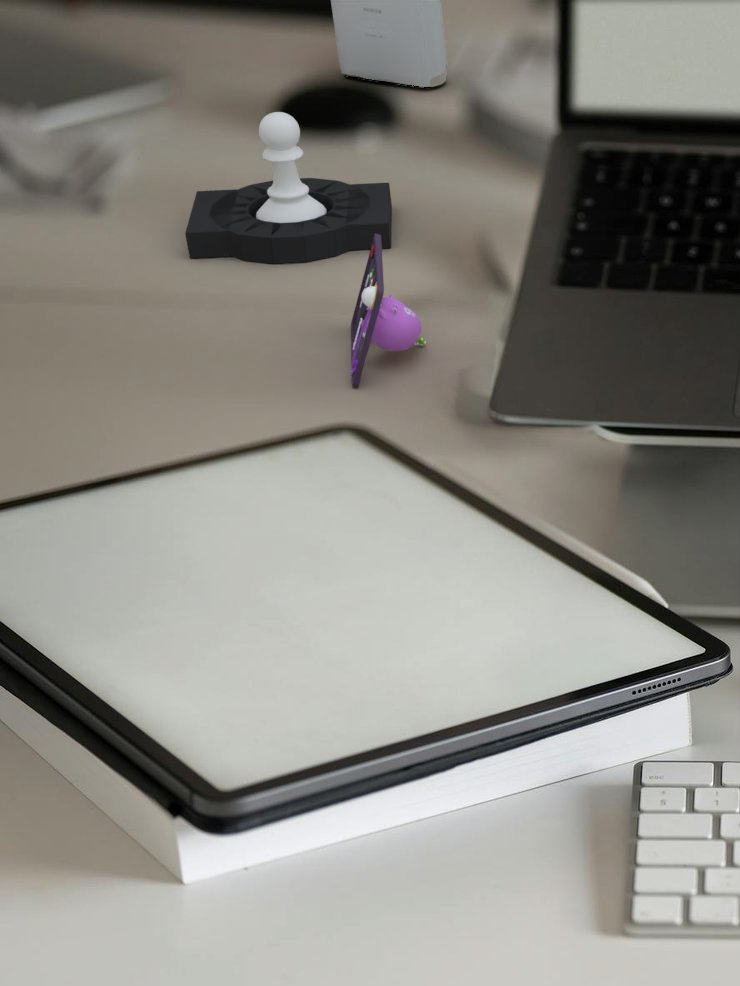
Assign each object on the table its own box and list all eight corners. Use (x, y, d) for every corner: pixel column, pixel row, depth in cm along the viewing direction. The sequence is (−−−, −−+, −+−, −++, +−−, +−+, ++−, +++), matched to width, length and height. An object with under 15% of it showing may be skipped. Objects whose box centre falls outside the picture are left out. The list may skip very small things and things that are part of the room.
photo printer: (332, 78, 155) (315, -62, 148) (359, 65, 158) (343, -72, 152) (430, 94, 152) (417, -48, 145) (455, 80, 155) (443, -59, 149)
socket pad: (187, 268, 119) (182, 242, 118) (203, 207, 129) (198, 182, 128) (391, 257, 122) (388, 231, 121) (392, 198, 131) (389, 173, 130)
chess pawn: (343, 231, 125) (327, 113, 121) (286, 251, 122) (268, 130, 117) (301, 213, 128) (284, 97, 123) (244, 232, 125) (225, 113, 120)
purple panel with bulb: (363, 229, 109) (365, 287, 102) (443, 249, 111) (451, 307, 104) (339, 321, 112) (339, 384, 105) (417, 339, 114) (423, 402, 107)
